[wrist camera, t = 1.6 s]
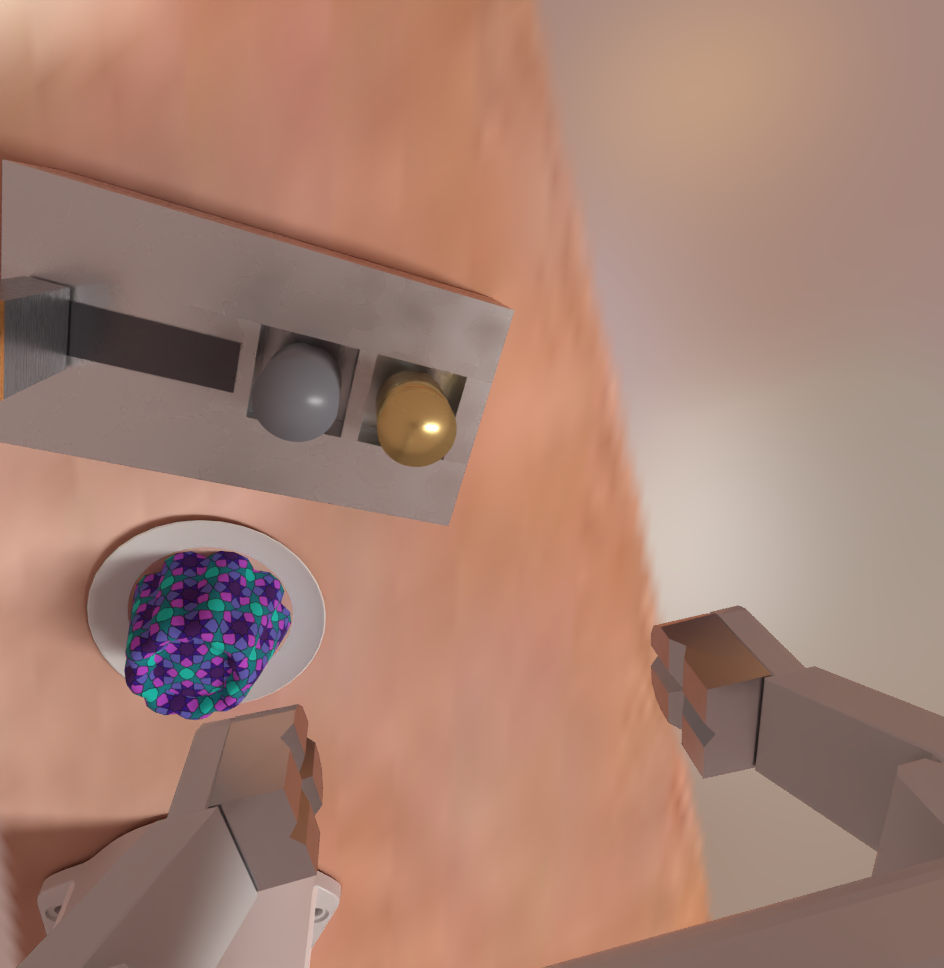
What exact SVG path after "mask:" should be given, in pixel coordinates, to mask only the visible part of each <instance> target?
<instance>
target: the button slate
mask: <svg viewBox="0 0 944 968" xmlns="http://www.w3.org/2000/svg"><path fill="white" fill-rule="evenodd" d="M341 384H342V378H341V372H340V369H339V367H338V364H337V363H336V361H335V360H334V358H333V357H332V356H331V355H330V354H329V353H328V352H327V351H325V350H324V349H322V348H321V347H319V346H316V345H313V344H310V343H293V344H289V345H287V346H285V347H283V348H281V349H280V350H278V351H277V352H276V353H275V354H274V355H273V357H272V358H271V359H270V361H269V362H268V364H267V365H266V367H265V368H264V369H263V371H262V372H261V374H260V375H259V377H258V378H257V380H256V382H255V384H254V386H253V390H252V397H251V398H252V407H253V411H254V413H255V416H256V418H257V419H258V421H259V422H260V424H261V425H262V426H263V427H264V428H265V429H266V430H267V431H268V432H270V433H271V434H272V435H274V436H276V437H278V438H280V439H283V440H286V441H292V442H305V441H309V440H313V439H315V438H317V437H319V436H321V435H322V434H324V433H325V432H326V431H327V430H328V429H329V428H330V427H331V426H332V424H333V423H334V421H335V419H336V416H337V413H338V407H339V399H340V392H341Z"/></svg>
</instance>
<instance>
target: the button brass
mask: <svg viewBox="0 0 944 968" xmlns="http://www.w3.org/2000/svg"><path fill="white" fill-rule="evenodd" d="M375 406H376V420H377V433H378V439H379V442H380V445H381V447H382V448H383V450H384V451H385V453H386V454H387V455H388V456H389V457H390V458H391V459H393V460H394V461H396V462H398V463H400V464H402V465H405V466H410V467H423V466H428V465H431V464H433V463H435V462H437V461H439V460H440V459H442V458H443V457H444V456H445V455H446V454H447V453H448V452H449V450H450V449H451V447H452V446H453V444H454V441H455V438H456V433H457V424H456V419H455V416H454V413H453V411H452V409H451V407H450V405H449V403H448V401H447V399H446V397H445V395H444V393H443V391H442V389H441V387H440V385H439V384H438V383H437V382H436V381H435V380H434V379H433V378H432V377H431V376H429V375H427V374H425V373H423V372H420V371H415V370H407V371H401V372H398V373H396V374H394V375H392V376H390V377H389V378H388V379H387V380H386V381H385V382H384V383H383V384H382V385H381V387H380V389H379V391H378V393H377V396H376V405H375Z"/></svg>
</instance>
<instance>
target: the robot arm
mask: <svg viewBox="0 0 944 968" xmlns="http://www.w3.org/2000/svg"><path fill="white" fill-rule="evenodd" d="M651 646H652V647H653V649H654V650H655V652H656V653H657V655H658V657H657V658H656V659H655V661H654V662H653V664H652V665H651V677H652V685H653V689H654V693H655V697H656V700H657V702H658V704H659V707H660V709H661V711H662V713H663V714H664V716H665V718H666V719H667V721H668V723H670V724H672V725H674V726H676V727H678V728H679V729H681V730H682V746H683V747H684V749H685V750H686V752H687V754H688V755H689V757H690V758H691V760H692V762H693V763H694V765H695V766H696V768H697V770H698V771H699V773H700V774H701V776H702V778H708V777H713V776H718V775H722V774H727V773H731V772H736V771H740V770H745V769H750V768H754V767H756V769H755V770H756V771H757V772H759V773H760V774H762V775H764V776H765V777H766V778H768V779H769V780H771V781H772V782H774V783H775V784H777V785H778V786H780V787H781V788H783V789H784V790H786V791H787V792H789V793H790V794H792V795H793V796H795V797H796V798H798V799H799V800H801V801H802V802H804V803H805V804H807V805H808V806H810V807H811V808H813V809H814V810H816V811H817V812H819V813H820V814H822V815H823V816H825V817H826V818H828V819H829V820H831V821H832V822H834V823H835V824H837V825H838V826H840V827H841V828H843V829H844V830H846V831H847V832H849V833H850V834H852V835H853V836H855V837H856V838H858V839H859V840H861V841H862V842H864V843H865V844H867V845H868V846H870V847H871V848H873V849H874V850H876V851H877V856H876V859H875V864H874V868H873V872H872V876H871V877H869V878H865V879H862V880H858V881H854V882H851V883H847V884H844V885H840V886H836V887H833V888H829V889H825V890H822V891H818V892H815V893H811V894H807V895H804V896H800V897H797V898H793V899H789V900H786V901H782V902H778V903H775V904H771V905H768V906H764V907H760V908H756V909H753V910H750V911H746V912H742V913H739V914H735V915H731V916H728V917H724V918H720V919H717V920H713V921H709V922H706V923H702V924H698V925H695V926H691V927H688V928H684V929H680V930H677V931H673V932H669V933H666V934H662V935H659V936H655V937H651V938H648V939H644V940H640V941H637V942H633V943H629V944H626V945H622V946H619V947H615V948H611V949H608V950H604V951H600V952H597V953H593V954H590V955H586V956H582V957H579V958H575V959H572V960H568V961H564V962H561V963H557V964H553V965H550V966H546V967H543V968H944V717H943V716H940V715H938V714H935V713H932V712H930V711H928V710H925V709H922V708H920V707H917V706H915V705H912V704H910V703H907V702H905V701H902V700H899V699H897V698H894V697H892V696H889V695H887V694H884V693H882V692H879V691H876V690H874V689H871V688H869V687H866V686H864V685H861V684H859V683H856V682H853V681H851V680H848V679H846V678H843V677H841V676H838V675H836V674H833V673H830V672H828V671H825V670H823V669H820V668H818V667H815V666H814V667H810V668H805V667H804V666H803V665H802V664H801V663H800V662H799V661H798V660H797V659H796V658H795V657H794V656H793V655H792V654H791V653H790V652H789V651H788V650H787V649H786V648H785V647H784V646H783V645H782V644H781V643H780V642H779V641H778V640H777V639H776V638H775V637H774V636H773V635H772V634H771V633H770V632H769V631H768V630H767V629H766V628H765V627H764V626H763V625H761V623H759V622H758V620H756V619H755V618H754V617H753V616H752V615H751V614H750V613H749V612H748V611H747V610H746V609H745V608H743V607H741V606H734V607H730V608H726V609H722V610H717V611H713V612H710V613H709V614H702V615H698V616H694V617H689V618H685V619H681V620H677V621H672V622H668V623H663V624H659V625H654V626H653V629H652V632H651ZM307 731H308V720H307V717H306V714H305V712H304V709H303V707H302V706H301V705H299V704H297V705H292V706H287V707H282V708H277V709H272V710H267V711H262V712H257V713H252V714H247V715H241V716H236V717H235V718H230V719H225V720H219V721H214V722H209V723H204V724H202V725H201V726H200V727H199V729H198V730H197V731H196V733H195V736H194V739H193V742H192V745H191V747H190V750H189V753H188V756H187V759H186V762H185V765H184V768H183V771H182V774H181V777H180V780H179V783H178V786H177V789H176V792H175V795H174V798H173V801H172V804H171V807H170V810H169V813H168V816H167V818H166V819H162V820H158V821H156V822H155V823H151V824H148V825H145V826H143V827H140V828H137V829H135V830H133V831H131V832H128V833H126V834H125V835H123V836H121V837H119V838H118V839H116V840H114V841H113V842H111V843H110V844H109V845H107V846H106V847H105V848H104V849H102V850H101V851H100V852H99V853H98V854H96V855H95V856H94V857H92V858H91V859H90V860H88V861H86V862H85V863H82V864H79V865H76V866H74V867H71V868H68V869H65V870H62V871H60V872H57V873H55V874H53V875H51V876H49V877H48V878H47V879H45V880H44V882H43V884H42V886H41V889H40V892H39V895H38V897H37V904H38V908H39V911H40V914H41V918H42V921H43V924H44V928H45V931H46V935H47V936H46V937H45V938H44V939H43V940H42V941H41V942H40V943H39V944H38V945H37V946H36V947H35V948H34V950H33V951H32V952H31V953H30V954H29V955H28V956H27V957H26V958H25V959H24V960H23V961H22V962H21V963H20V964H19V965H18V966H17V967H16V968H309V964H310V955H311V949H312V948H313V946H314V944H315V943H316V941H317V939H318V938H319V936H320V935H321V933H322V931H323V930H324V928H325V927H326V925H327V923H328V922H329V920H330V918H331V917H332V915H333V914H334V912H335V910H336V909H337V907H338V905H339V901H340V894H341V886H340V884H339V883H338V882H337V881H335V880H334V879H332V878H331V877H329V876H327V875H325V874H323V873H321V872H319V871H317V867H318V854H319V841H320V830H319V827H318V824H317V821H316V819H315V814H316V813H317V812H318V810H319V809H320V807H321V806H322V799H323V779H322V767H321V762H320V757H319V753H318V749H317V746H316V743H315V742H314V741H312V740H310V739H309V738H307Z"/></svg>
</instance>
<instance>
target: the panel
mask: <svg viewBox="0 0 944 968" xmlns="http://www.w3.org/2000/svg"><path fill="white" fill-rule="evenodd" d="M20 276H27V277H31V278H35V279H39V280H43V281H47V282H51V283H55V284H59V285H63V286H67V287H70V297H69V317H68V338H67V358H66V370H64V371H62V372H59V373H57V374H55V375H53V376H51V377H49V378H47V379H45V380H43V381H41V382H39V383H37V384H34V385H32V386H30V387H28V388H26V389H24V390H22V391H20V392H18V393H16V394H14V395H12V396H10V397H7V398H5V399H3V400H1V401H0V442H2V443H7V444H13V445H18V446H23V447H29V448H34V449H39V450H45V451H50V452H55V453H61V454H66V455H71V456H77V457H82V458H87V459H93V460H98V461H103V462H109V463H114V464H119V465H125V466H130V467H135V468H141V469H146V470H152V471H157V472H162V473H168V474H173V475H178V476H184V477H189V478H194V479H200V480H205V481H210V482H216V483H221V484H226V485H232V486H237V487H242V488H248V489H253V490H258V491H264V492H269V493H274V494H280V495H285V496H291V497H296V498H301V499H307V500H312V501H317V502H323V503H328V504H333V505H339V506H344V507H349V508H355V509H360V510H365V511H371V512H376V513H381V514H387V515H392V516H397V517H403V518H408V519H414V520H419V521H424V522H430V523H435V524H440V525H446V526H448V525H449V522H450V519H451V516H452V512H453V509H454V506H455V503H456V499H457V496H458V493H459V489H460V486H461V483H462V480H463V476H464V473H465V470H466V467H467V463H468V460H469V457H470V454H471V450H472V447H473V444H474V440H475V437H476V434H477V431H478V427H479V424H480V421H481V418H482V414H483V411H484V408H485V404H486V401H487V398H488V395H489V391H490V388H491V385H492V382H493V378H494V375H495V372H496V369H497V365H498V362H499V359H500V355H501V352H502V349H503V346H504V342H505V339H506V336H507V333H508V329H509V326H510V323H511V319H512V316H513V313H514V310H513V309H511V308H509V307H507V306H506V305H504V304H502V303H500V302H498V301H497V300H495V299H493V298H490V297H487V296H483V295H480V294H477V293H473V292H470V291H467V290H463V289H460V288H457V287H453V286H450V285H447V284H443V283H440V282H436V281H433V280H430V279H426V278H423V277H420V276H416V275H413V274H410V273H406V272H403V271H400V270H396V269H393V268H390V267H386V266H383V265H379V264H376V263H373V262H369V261H366V260H363V259H359V258H356V257H353V256H349V255H346V254H343V253H339V252H336V251H333V250H329V249H326V248H322V247H319V246H316V245H312V244H309V243H306V242H302V241H299V240H296V239H292V238H289V237H286V236H282V235H279V234H276V233H272V232H269V231H265V230H262V229H259V228H255V227H252V226H249V225H245V224H242V223H239V222H235V221H232V220H229V219H225V218H222V217H219V216H215V215H212V214H208V213H205V212H202V211H198V210H195V209H192V208H188V207H185V206H182V205H178V204H175V203H172V202H168V201H165V200H161V199H158V198H155V197H151V196H148V195H145V194H141V193H138V192H135V191H131V190H128V189H125V188H121V187H118V186H115V185H111V184H108V183H104V182H101V181H98V180H94V179H91V178H88V177H84V176H81V175H78V174H74V173H71V172H68V171H64V170H58V169H53V168H48V167H42V166H37V165H32V164H26V163H21V162H16V161H10V160H5V159H2V238H1V279H7V278H14V277H20ZM293 343H310V344H313V345H316V346H319V347H321V348H322V349H324V350H325V351H327V352H328V353H329V354H330V355H331V356H332V357H333V358H334V360H335V361H336V363H337V364H338V367H339V369H340V372H341V378H342V384H341V392H340V399H339V407H338V413H337V416H336V419H335V421H334V423H333V424H332V426H331V427H330V428H329V429H328V430H327V431H326V432H325V433H324V434H322V435H321V436H319V437H317V438H315V439H313V440H309V441H305V442H292V441H286V440H283V439H280V438H278V437H276V436H274V435H272V434H271V433H270V432H268V431H267V430H266V429H265V428H264V427H263V426H262V425H261V424H260V422H259V421H258V419H257V418H256V416H255V413H254V411H253V407H252V398H251V397H252V390H253V386H254V384H255V382H256V380H257V378H258V377H259V375H260V374H261V372H262V371H263V369H264V368H265V367H266V365H267V364H268V362H269V361H270V359H271V358H272V357H273V355H274V354H275V353H276V352H277V351H278V350H280V349H281V348H283V347H285V346H287V345H289V344H293ZM407 370H415V371H420V372H423V373H425V374H427V375H429V376H431V377H432V378H433V379H434V380H435V381H436V382H437V383H438V384H439V385H440V387H441V389H442V391H443V393H444V395H445V397H446V399H447V401H448V403H449V405H450V407H451V409H452V411H453V413H454V416H455V419H456V424H457V433H456V438H455V441H454V444H453V446H452V447H451V449H450V450H449V452H448V453H447V454H446V455H445V456H444V457H443V458H442V459H440V460H439V461H437V462H435V463H433V464H431V465H428V466H423V467H410V466H405V465H402V464H400V463H398V462H396V461H394V460H393V459H391V458H390V457H389V456H388V455H387V454H386V453H385V451H384V450H383V448H382V447H381V445H380V442H379V439H378V433H377V420H376V406H375V405H376V396H377V393H378V391H379V389H380V387H381V385H382V384H383V383H384V382H385V381H386V380H387V379H388V378H389V377H390V376H392V375H394V374H396V373H398V372H401V371H407Z"/></svg>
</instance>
